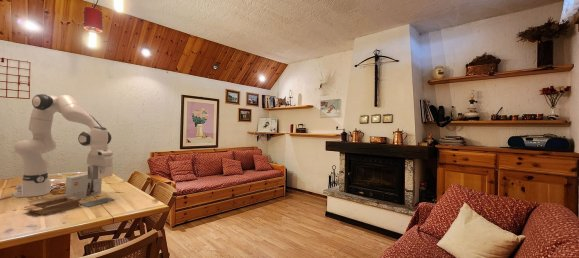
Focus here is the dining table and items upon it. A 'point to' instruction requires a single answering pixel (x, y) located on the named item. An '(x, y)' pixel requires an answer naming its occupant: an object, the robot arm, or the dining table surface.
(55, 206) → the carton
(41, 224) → the dining table surface
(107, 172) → the box
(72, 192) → the skincare box
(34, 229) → the dining table surface
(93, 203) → the felt mat
